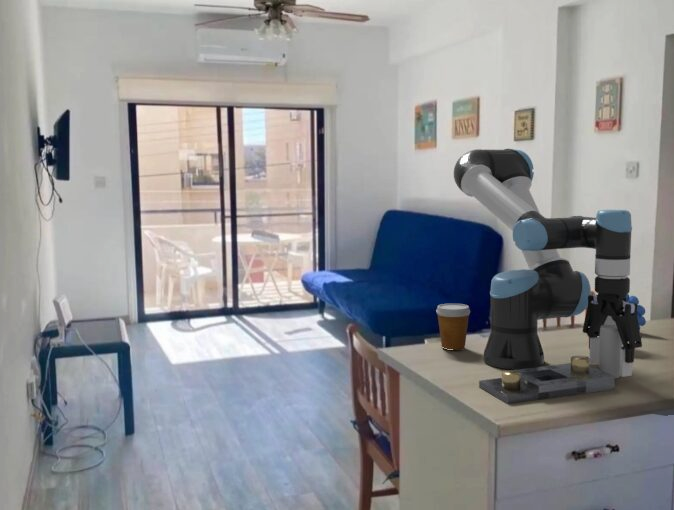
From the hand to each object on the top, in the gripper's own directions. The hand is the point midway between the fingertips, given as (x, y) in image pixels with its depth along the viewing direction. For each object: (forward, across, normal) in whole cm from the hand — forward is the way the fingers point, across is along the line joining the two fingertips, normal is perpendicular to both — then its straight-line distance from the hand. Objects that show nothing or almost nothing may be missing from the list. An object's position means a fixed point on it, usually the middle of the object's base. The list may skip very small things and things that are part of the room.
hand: (609, 369), depth 153 cm
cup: (+2, +22, -19) cm, 29 cm away
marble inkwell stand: (+2, -2, +19) cm, 19 cm away
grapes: (+2, +35, -35) cm, 50 cm away
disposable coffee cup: (+2, +37, +22) cm, 43 cm away
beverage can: (+2, 0, 0) cm, 2 cm away
